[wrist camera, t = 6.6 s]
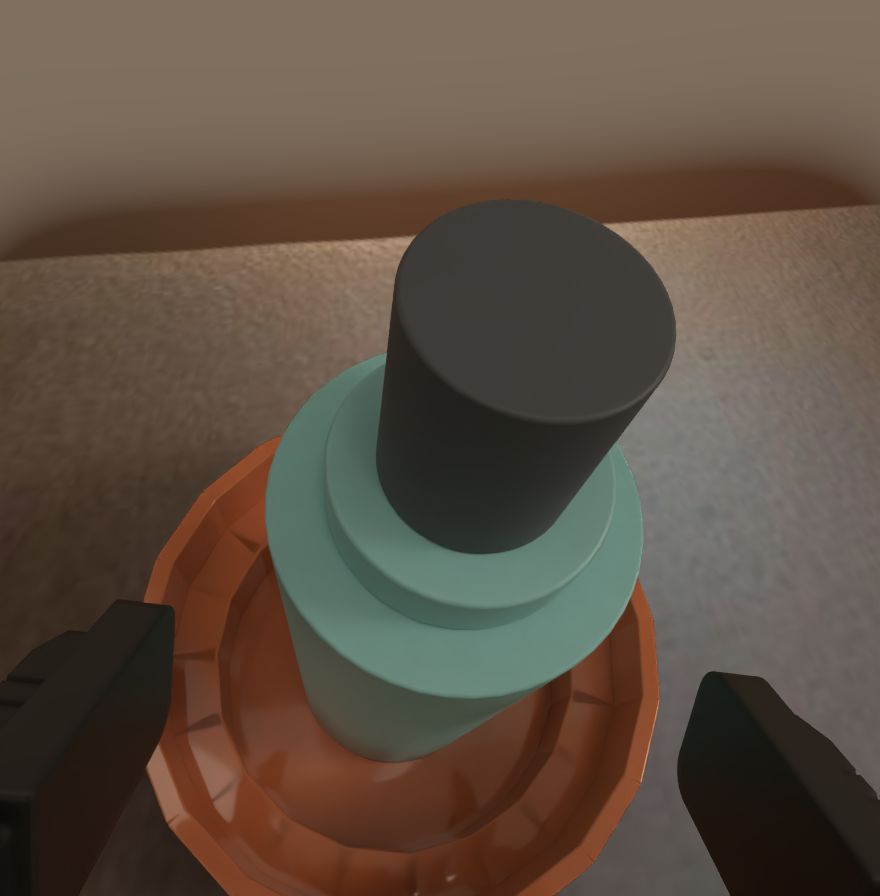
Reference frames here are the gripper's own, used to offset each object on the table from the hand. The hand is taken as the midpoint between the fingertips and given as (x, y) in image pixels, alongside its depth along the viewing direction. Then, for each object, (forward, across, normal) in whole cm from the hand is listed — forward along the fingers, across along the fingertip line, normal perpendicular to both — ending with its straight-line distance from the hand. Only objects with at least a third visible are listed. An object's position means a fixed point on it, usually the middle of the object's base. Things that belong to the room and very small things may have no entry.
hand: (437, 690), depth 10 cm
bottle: (+10, 0, +6) cm, 12 cm away
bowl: (+11, 0, +7) cm, 13 cm away
